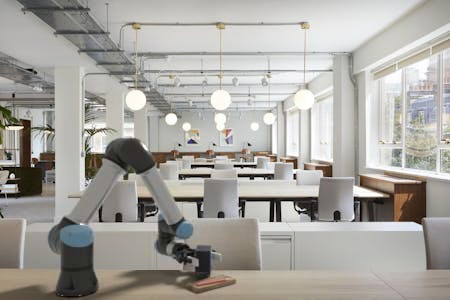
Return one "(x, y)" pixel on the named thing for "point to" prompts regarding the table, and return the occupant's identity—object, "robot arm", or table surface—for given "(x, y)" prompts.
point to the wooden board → (203, 288)
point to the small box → (203, 260)
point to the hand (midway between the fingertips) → (209, 260)
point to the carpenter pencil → (212, 282)
